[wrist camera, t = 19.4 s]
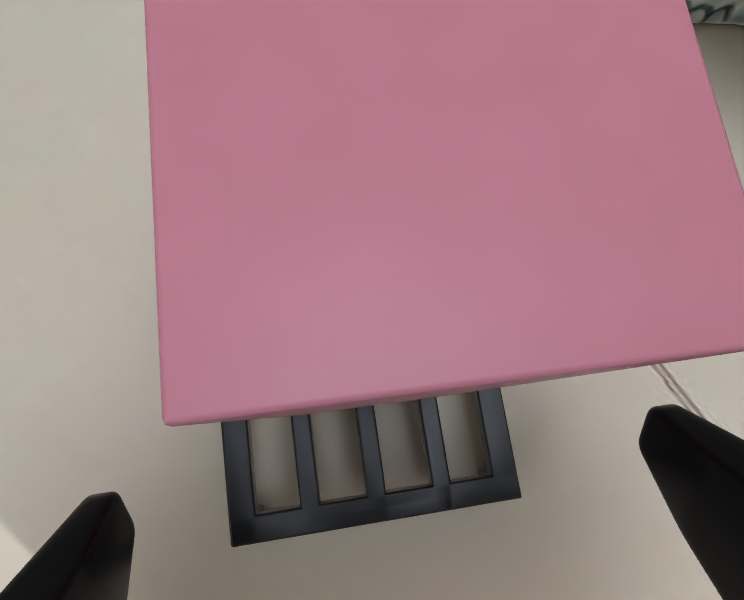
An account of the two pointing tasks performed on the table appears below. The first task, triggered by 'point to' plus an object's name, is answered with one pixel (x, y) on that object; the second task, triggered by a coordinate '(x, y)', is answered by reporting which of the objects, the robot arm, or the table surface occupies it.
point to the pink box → (431, 199)
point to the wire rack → (367, 476)
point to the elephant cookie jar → (716, 11)
